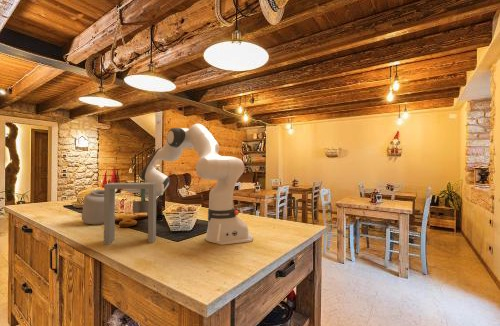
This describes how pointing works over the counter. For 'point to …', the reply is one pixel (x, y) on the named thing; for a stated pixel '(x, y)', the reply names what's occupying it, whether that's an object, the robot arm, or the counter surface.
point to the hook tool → (141, 204)
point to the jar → (94, 207)
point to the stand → (110, 209)
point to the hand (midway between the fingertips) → (141, 185)
